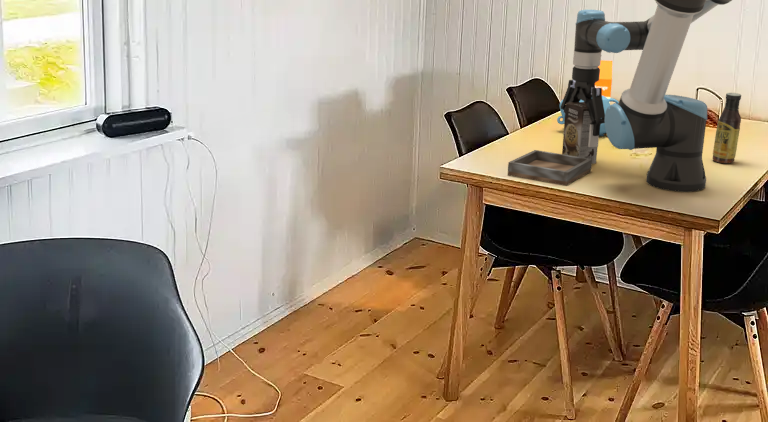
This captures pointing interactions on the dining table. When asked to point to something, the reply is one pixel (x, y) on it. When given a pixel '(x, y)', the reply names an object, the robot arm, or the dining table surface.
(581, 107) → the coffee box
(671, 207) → the dining table surface
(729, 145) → the sauce bottle
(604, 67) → the orange juice
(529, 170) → the tray
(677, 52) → the robot arm
